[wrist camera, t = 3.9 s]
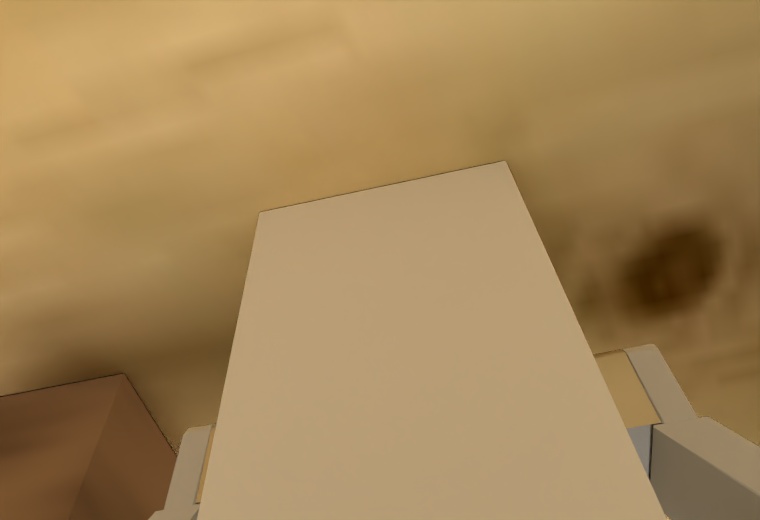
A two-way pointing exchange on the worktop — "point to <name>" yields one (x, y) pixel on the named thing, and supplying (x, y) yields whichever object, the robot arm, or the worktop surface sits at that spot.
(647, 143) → the worktop surface
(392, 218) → the two-tone lidded box
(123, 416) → the base
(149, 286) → the worktop surface
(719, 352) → the worktop surface
